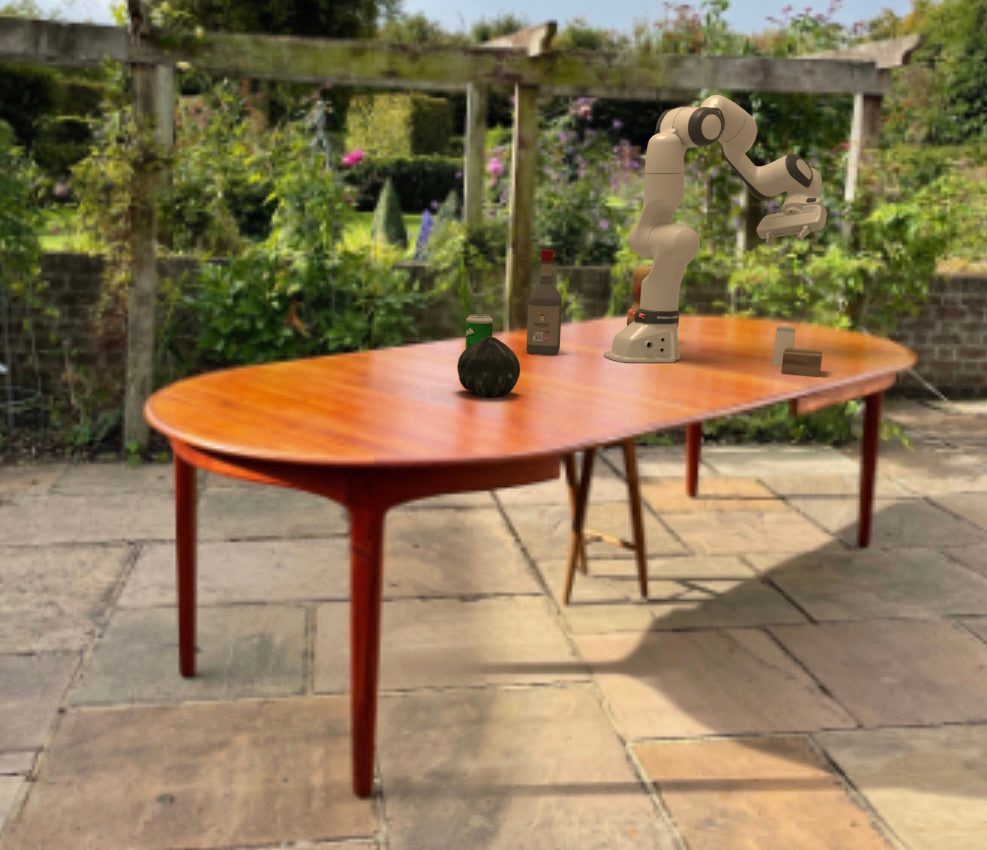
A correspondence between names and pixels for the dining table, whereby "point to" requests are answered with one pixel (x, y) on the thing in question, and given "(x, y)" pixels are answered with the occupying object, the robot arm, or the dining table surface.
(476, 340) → the soda can
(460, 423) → the dining table surface
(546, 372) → the dining table surface
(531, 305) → the liquor
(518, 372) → the squash
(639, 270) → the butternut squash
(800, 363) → the walnut block
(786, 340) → the tall cream box
